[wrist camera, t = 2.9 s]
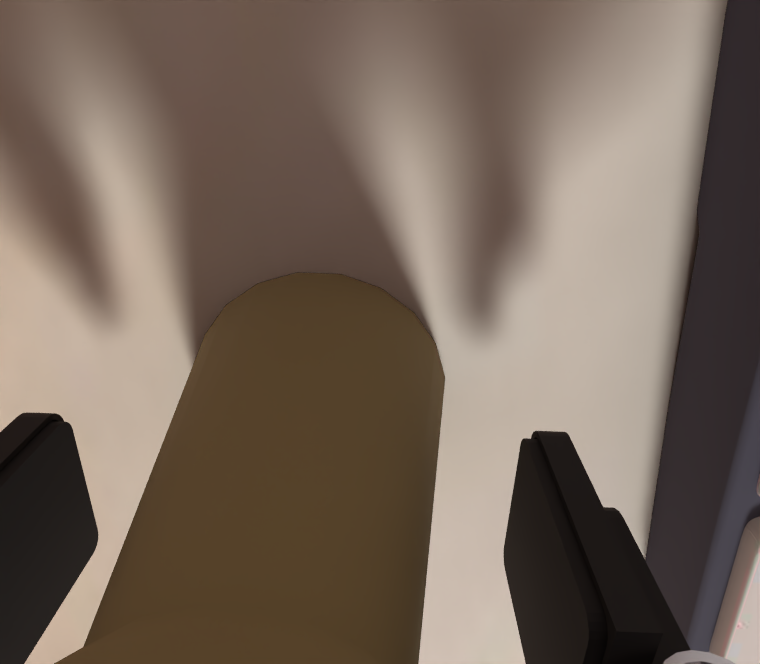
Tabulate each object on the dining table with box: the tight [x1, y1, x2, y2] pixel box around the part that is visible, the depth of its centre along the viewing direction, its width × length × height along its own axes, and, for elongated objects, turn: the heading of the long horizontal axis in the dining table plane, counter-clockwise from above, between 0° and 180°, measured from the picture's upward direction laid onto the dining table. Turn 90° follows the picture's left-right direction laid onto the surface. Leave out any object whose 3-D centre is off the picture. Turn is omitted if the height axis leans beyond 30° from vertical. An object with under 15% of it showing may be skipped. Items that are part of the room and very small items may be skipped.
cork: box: [54, 273, 445, 664], centre depth 9 cm, size 6×6×11 cm
